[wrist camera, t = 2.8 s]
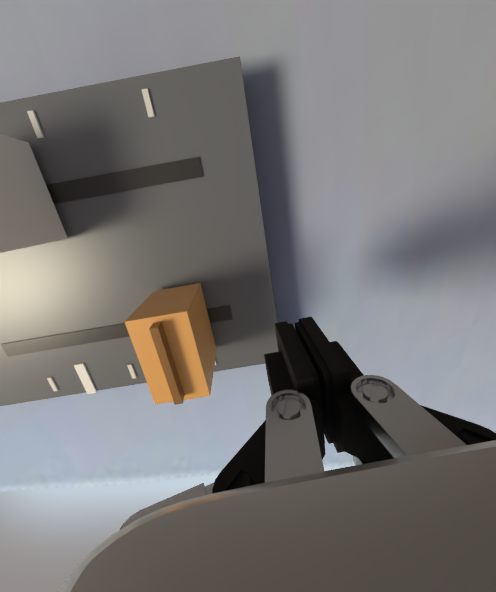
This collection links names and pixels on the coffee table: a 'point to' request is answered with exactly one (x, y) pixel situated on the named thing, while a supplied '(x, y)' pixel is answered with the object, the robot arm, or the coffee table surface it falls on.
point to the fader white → (24, 200)
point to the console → (135, 228)
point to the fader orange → (174, 343)
